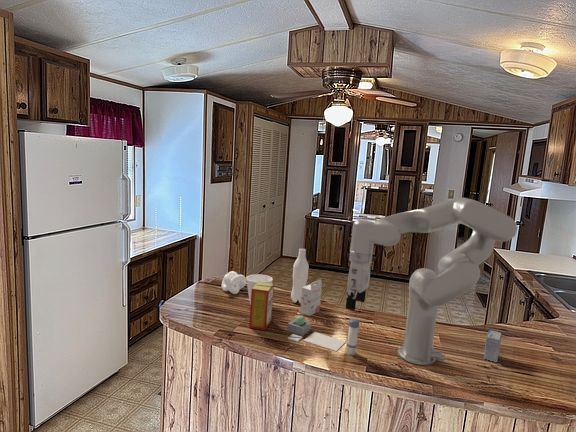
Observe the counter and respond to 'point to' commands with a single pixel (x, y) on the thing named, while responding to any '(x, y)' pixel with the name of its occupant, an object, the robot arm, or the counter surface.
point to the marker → (352, 336)
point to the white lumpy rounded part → (233, 282)
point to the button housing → (299, 327)
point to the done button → (300, 320)
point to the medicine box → (492, 346)
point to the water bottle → (299, 275)
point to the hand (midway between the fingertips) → (355, 305)
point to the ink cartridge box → (311, 298)
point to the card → (295, 337)
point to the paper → (324, 341)
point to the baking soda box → (261, 305)
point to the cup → (254, 279)
